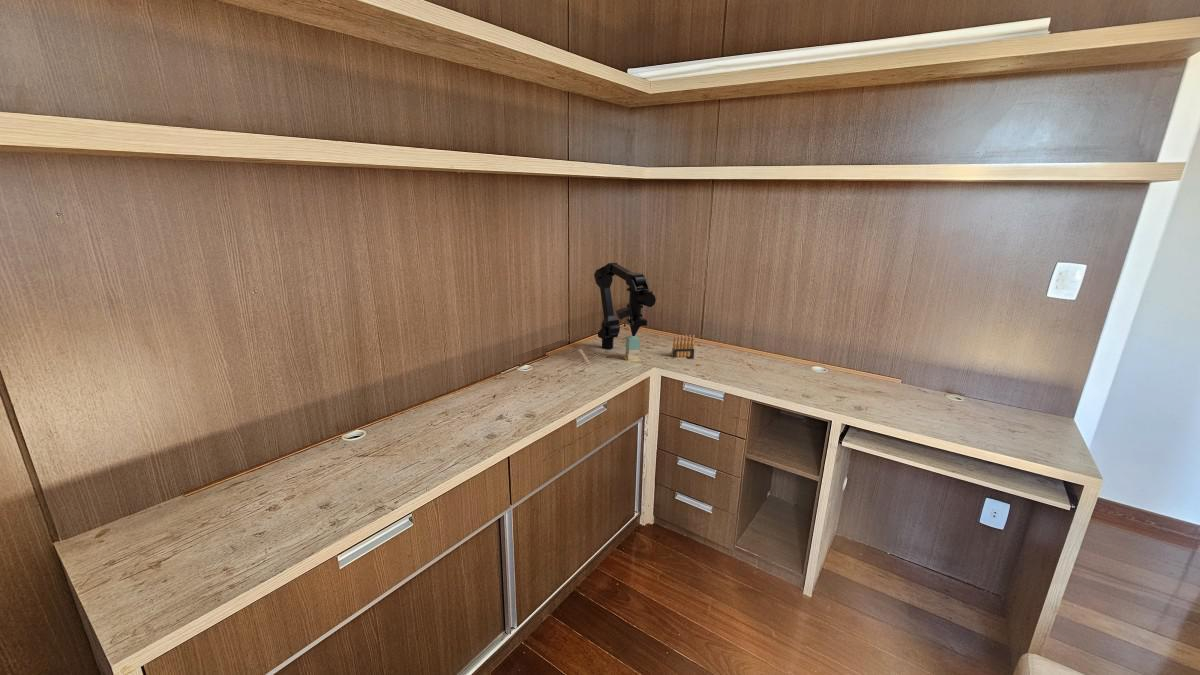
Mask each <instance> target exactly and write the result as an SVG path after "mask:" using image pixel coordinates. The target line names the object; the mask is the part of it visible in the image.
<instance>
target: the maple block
mask: <svg viewBox="0 0 1200 675" xmlns="http://www.w3.org/2000/svg"><path fill="white" fill-rule="evenodd" d="M624 355H625V356H624V357H626V359H627V360H628V361H627V362H633V361H632V360H639V359H640V350H628V349H627V348H626V347H625V354H624ZM626 359H625V360H626Z"/></svg>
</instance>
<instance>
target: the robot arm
mask: <svg viewBox="0 0 1200 675" xmlns="http://www.w3.org/2000/svg"><path fill="white" fill-rule="evenodd" d="M614 276H617V277H618V278H621V279H622V280H624V282H625V284H626V285H627V286H628V288H626V291H627V292H629V296H628V303H627V304H626V307H623V308H619V309H617V310H616V311H615V313H614V305H613V298H612V289H611V286H612V283H613V281H614V280H613V279H614V278H613V277H614ZM593 278H594V280H595V284H596V286H598V289H599V292H600V296H601V297H600V298H601V305H602V306H601V307H602V314H603V320H602V322H601V329H600V330H598V332H597V336H598V338H600V339H601V348H602V349H604V350H607V351H608V350H611V351H612V350H613V349H614V338H618V337H619V334H620V331H621V326H620V321H621V320H623V319H625V318H627V319H625V321H626V322H627V323H628V324H629V327H630V332H631V336H637V333H638V331H639V330H640V328H641V327H646V326H648V320H647V319H646V318H645V317H644V316H643V314H642V309H643V307H644V306H645V307H647V308H652V307H654V306H655V304H656V300H657V298H656V296H655V294H653V291H652V290H650V286H649V283H648V282H647V279H646V276H645V274H643V273H639V272H633V271H632V270H629V269H627V268H625V267H624V266H622V265H620V264H618V263H617V262H608V263H607V264H606V265H604V266H602V267H600V268H597V269H596V270H595V271H594V274H593ZM615 315H616V316H617V317H616V316H615Z"/></svg>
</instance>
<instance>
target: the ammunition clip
mask: <svg viewBox="0 0 1200 675" xmlns="http://www.w3.org/2000/svg"><path fill="white" fill-rule="evenodd" d="M670 356H671V358H675V359H676V358H686V359H687V360H695V359H694V358H695V357H694V356H695V334H692V337H691V334H689V335H687V334H685V336H684V334H682V335H680V334H678V336H677V334H674V337H673V342H672V350H671V355H670Z"/></svg>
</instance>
